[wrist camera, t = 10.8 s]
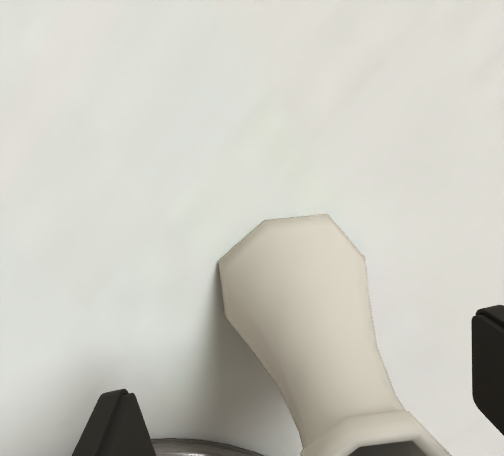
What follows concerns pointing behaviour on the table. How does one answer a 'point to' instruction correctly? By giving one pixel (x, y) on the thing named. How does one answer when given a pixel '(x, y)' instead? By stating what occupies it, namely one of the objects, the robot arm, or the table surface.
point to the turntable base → (196, 448)
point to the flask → (319, 338)
